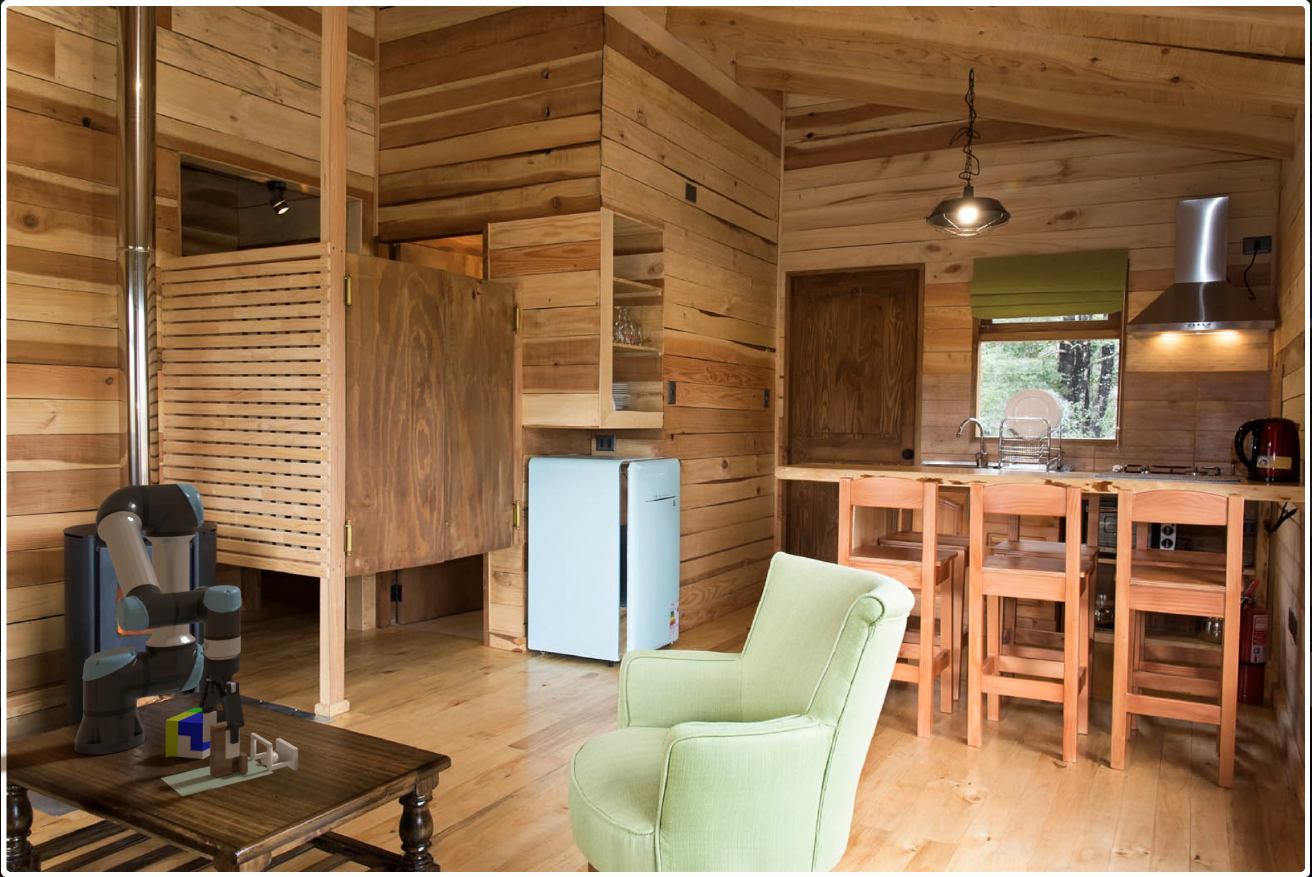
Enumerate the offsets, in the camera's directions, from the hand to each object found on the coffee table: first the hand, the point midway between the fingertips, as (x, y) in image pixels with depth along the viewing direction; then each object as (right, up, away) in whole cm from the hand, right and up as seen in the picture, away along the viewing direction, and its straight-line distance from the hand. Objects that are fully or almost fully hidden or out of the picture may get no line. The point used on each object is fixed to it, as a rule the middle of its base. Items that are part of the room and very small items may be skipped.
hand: (220, 749), depth 211 cm
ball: (+8, -5, +8) cm, 12 cm away
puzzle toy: (-13, -7, +15) cm, 21 cm away
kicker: (+1, -5, +1) cm, 6 cm away
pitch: (+2, -7, +2) cm, 8 cm away
